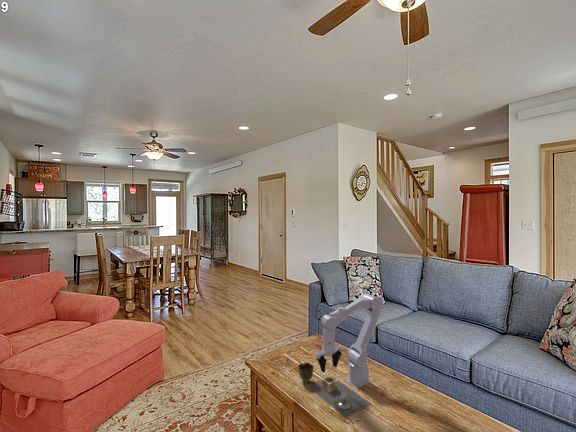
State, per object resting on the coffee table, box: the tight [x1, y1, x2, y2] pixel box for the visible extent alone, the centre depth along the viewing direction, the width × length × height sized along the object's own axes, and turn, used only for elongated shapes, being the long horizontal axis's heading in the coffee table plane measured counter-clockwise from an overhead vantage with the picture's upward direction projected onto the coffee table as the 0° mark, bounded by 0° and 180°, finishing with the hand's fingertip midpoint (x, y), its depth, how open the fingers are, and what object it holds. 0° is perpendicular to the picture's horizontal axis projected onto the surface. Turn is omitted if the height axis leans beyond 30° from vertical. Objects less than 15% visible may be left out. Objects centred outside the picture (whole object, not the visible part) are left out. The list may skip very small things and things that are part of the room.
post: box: [335, 390, 352, 410], centre depth 132 cm, size 7×7×6 cm
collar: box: [321, 375, 338, 392], centre depth 145 cm, size 5×5×4 cm
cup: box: [298, 362, 314, 384], centre depth 151 cm, size 8×7×8 cm
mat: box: [307, 376, 373, 418], centre depth 139 cm, size 16×26×1 cm, turn 32°
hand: (328, 369), depth 144 cm, fingers open, 7 cm apart
